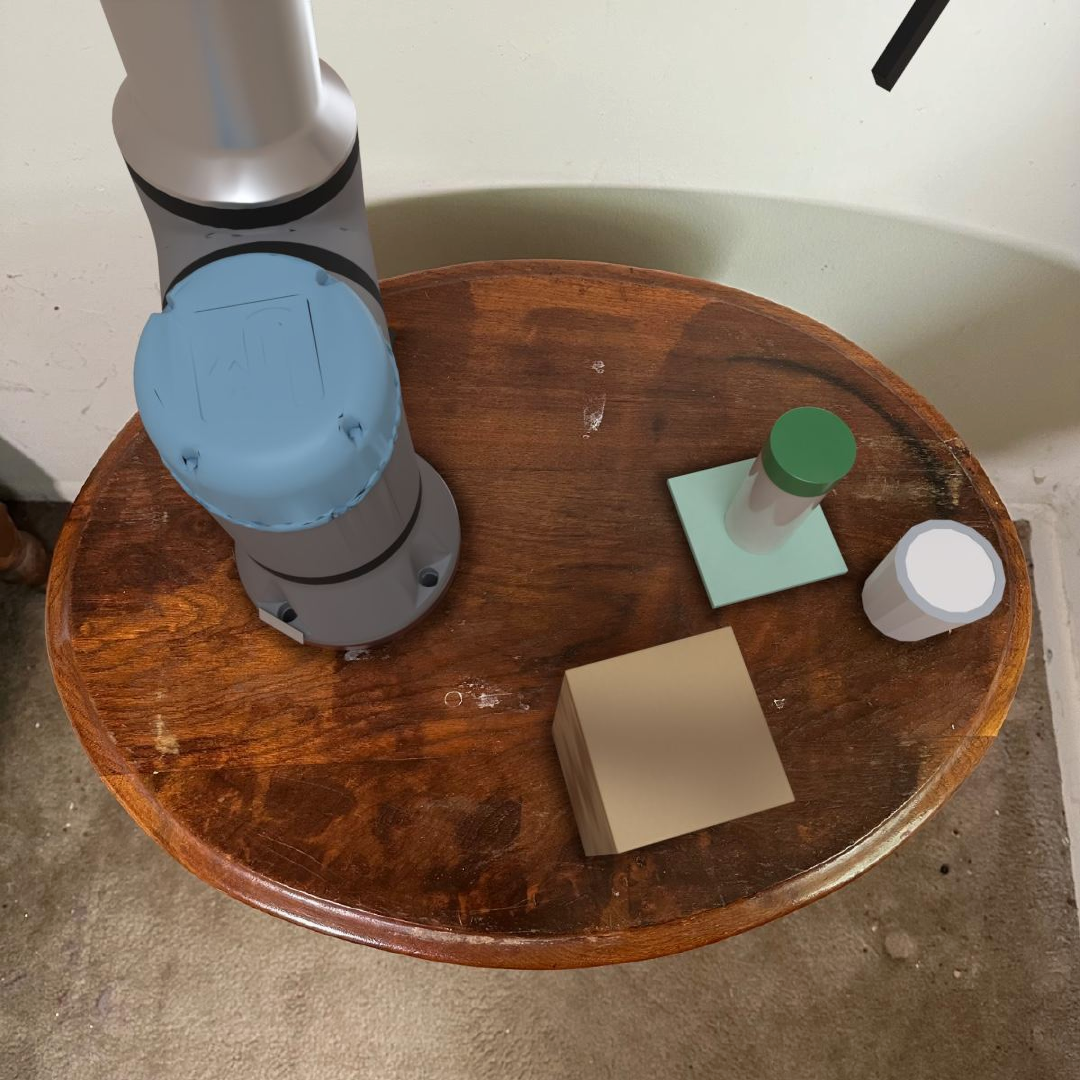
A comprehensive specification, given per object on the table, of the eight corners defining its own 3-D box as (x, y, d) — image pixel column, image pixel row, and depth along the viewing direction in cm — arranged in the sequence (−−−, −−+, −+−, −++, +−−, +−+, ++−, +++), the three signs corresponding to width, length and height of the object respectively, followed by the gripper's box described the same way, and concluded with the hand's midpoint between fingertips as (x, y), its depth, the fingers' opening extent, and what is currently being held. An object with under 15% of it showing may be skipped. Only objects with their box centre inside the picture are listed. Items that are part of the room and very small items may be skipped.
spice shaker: (713, 500, 59) (757, 417, 48) (777, 484, 60) (836, 398, 49) (737, 564, 58) (789, 492, 46) (803, 546, 58) (870, 471, 47)
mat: (666, 482, 60) (667, 478, 60) (792, 451, 62) (795, 447, 61) (712, 609, 57) (714, 606, 56) (845, 573, 58) (848, 570, 58)
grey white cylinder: (950, 659, 56) (1007, 633, 50) (849, 639, 56) (892, 610, 50) (952, 566, 58) (1006, 529, 52) (855, 547, 59) (897, 508, 52)
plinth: (551, 729, 54) (564, 670, 37) (666, 697, 55) (731, 625, 38) (585, 856, 51) (617, 853, 34) (707, 820, 52) (796, 800, 35)
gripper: (1824, -268, 27) (1262, 311, 36) (1117, -515, 32) (790, 45, 42) (2103, -451, 20) (1329, 312, 30) (1159, -723, 26) (760, -3, 35)
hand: (1014, 157), depth 36 cm, fingers open, 13 cm apart
